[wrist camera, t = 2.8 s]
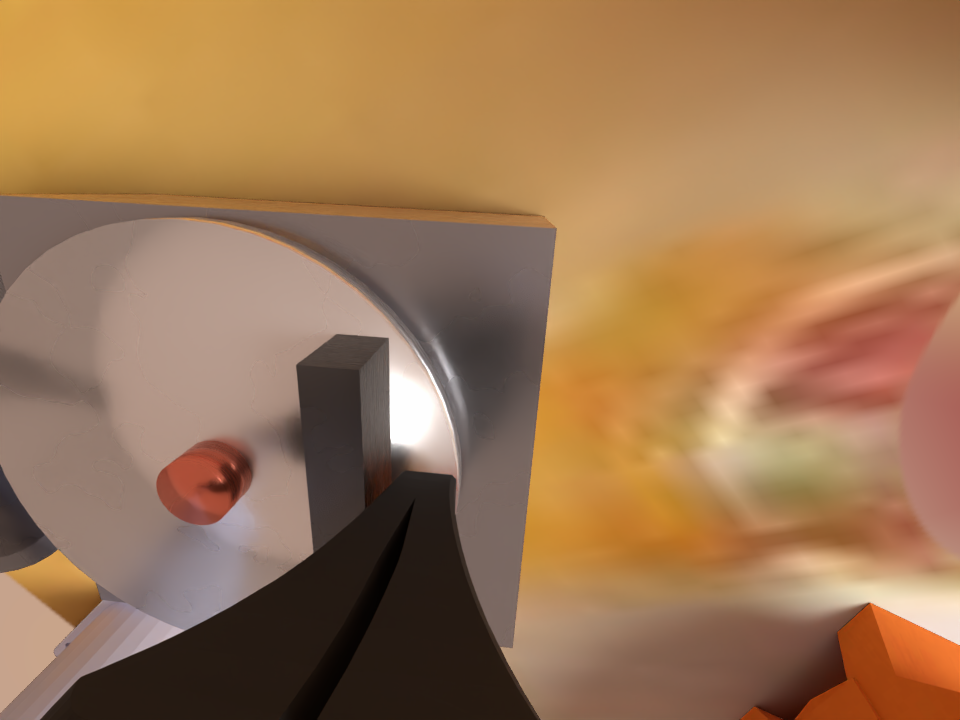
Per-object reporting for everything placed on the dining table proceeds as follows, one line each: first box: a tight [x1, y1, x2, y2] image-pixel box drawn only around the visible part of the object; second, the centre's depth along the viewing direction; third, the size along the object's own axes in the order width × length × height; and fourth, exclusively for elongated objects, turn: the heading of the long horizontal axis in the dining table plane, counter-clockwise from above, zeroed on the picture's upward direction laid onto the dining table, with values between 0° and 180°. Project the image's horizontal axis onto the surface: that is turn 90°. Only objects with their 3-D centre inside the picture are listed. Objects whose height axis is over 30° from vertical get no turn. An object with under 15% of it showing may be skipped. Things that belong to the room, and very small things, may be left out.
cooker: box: [0, 194, 557, 648], centre depth 15 cm, size 27×13×8 cm, turn 87°
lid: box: [0, 217, 462, 630], centre depth 11 cm, size 13×13×3 cm
